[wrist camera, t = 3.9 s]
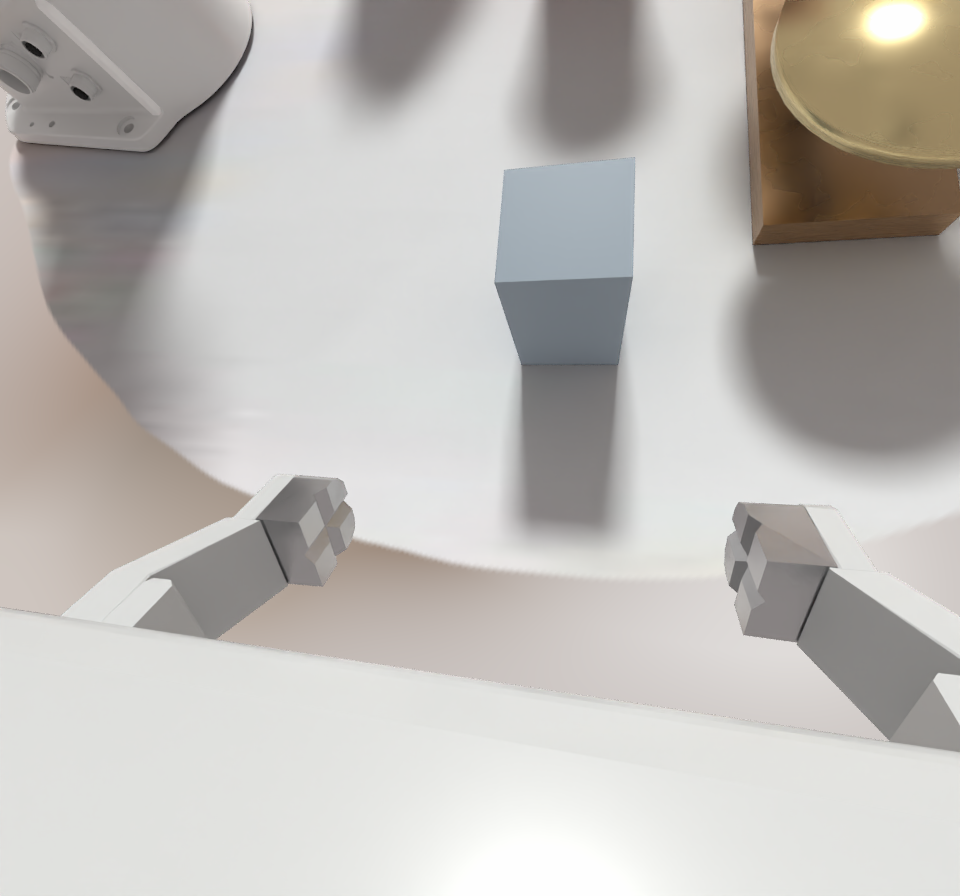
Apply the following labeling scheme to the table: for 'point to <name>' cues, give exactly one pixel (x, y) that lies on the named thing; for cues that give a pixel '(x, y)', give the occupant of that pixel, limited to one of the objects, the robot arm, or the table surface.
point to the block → (567, 260)
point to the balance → (852, 118)
